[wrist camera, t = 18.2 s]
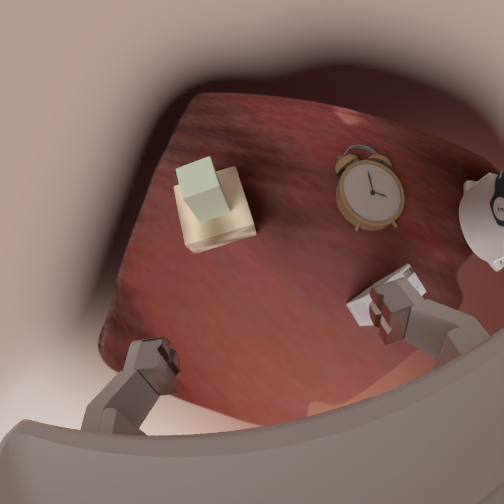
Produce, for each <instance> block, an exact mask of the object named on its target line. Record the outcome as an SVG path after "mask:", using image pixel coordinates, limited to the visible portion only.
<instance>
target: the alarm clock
mask: <svg viewBox="0 0 504 504" xmlns="http://www.w3.org/2000/svg"><path fill="white" fill-rule="evenodd" d="M353 149H364V150H367V151H369V152H371V153H372V154H373V155H370V156H369V157H368V158H367V160H360V161H359V158H358V157H357V156H356V155H353V154H347V153H348V152H349V151H350V150H353ZM346 154H347V155H346ZM338 158H339V160H338V161H337V163H336V165H335V172H336V174H337V175H338V176H340V175H341V174H340V171H341V170H342V169H345V171H344V172H343V173H342V176H341V178H340V180H339V182H338V185H337V188H336V202H337V205H338V208H339V210H340V212H341V213H342V215H343V216H344V217H345V219H346V220H348V221H349V222H350V223H351V224H353V225H354V226H355V231H357V230H358V229H359V228H361V229H363V230H371V231H376V230H379V229H383V228H385V227H386V226H388V225H389V224H390V223H392V224H393V226H394V227H395V228H397V227H398V226H397V224H396V222H395V221H394V220H396V219H397V218H398V217H399V215H400V214H401V212H402V210H403V206H404V201H405V199H404V190H403V188H402V185H401V183H400V181H399V179H398V178H397V176H396V175H395V174H394V172H392V164H391V162H390V160H389V159H388V158H387V157H385V156H384V155H381V154H377V153H376V152H375V151H374V150H373V149H372V148H370V147H368V146H365V145H353V146H351V147H349V148H348V149H347V150H346V152H345V153H344V155H343V156H338Z"/></svg>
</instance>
